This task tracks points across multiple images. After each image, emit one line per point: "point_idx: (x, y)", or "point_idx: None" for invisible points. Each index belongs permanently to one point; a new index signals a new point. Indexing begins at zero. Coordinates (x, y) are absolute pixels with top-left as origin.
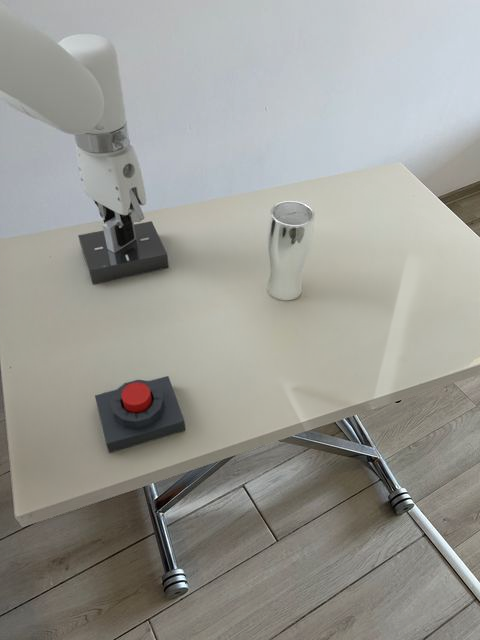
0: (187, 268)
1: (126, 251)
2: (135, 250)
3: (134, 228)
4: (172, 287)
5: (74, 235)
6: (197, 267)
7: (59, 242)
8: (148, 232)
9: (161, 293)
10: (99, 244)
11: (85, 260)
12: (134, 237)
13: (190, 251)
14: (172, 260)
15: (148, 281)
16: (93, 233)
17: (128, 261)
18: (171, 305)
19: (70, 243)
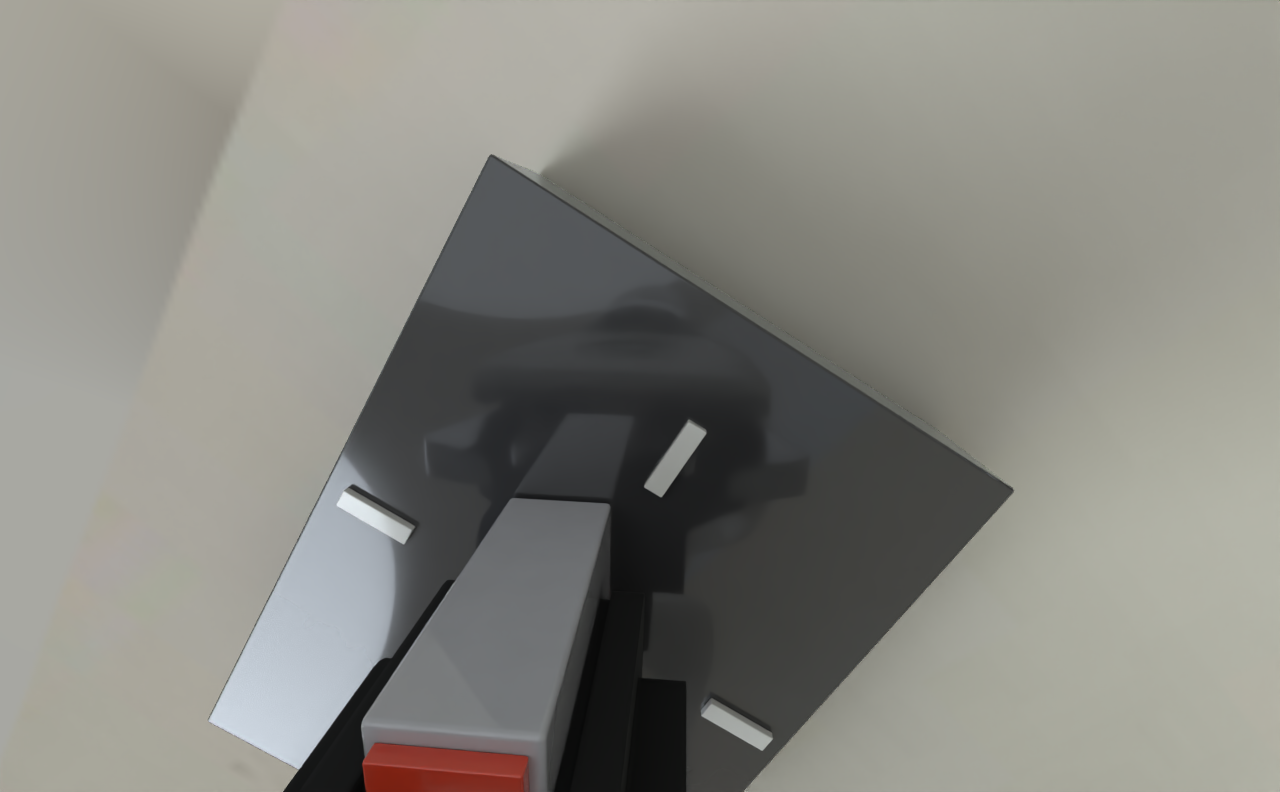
0: (1086, 344)
1: (667, 668)
2: (721, 618)
3: (590, 578)
4: (1099, 577)
5: (135, 555)
6: (1163, 280)
7: (145, 656)
8: (618, 342)
9: (1061, 660)
10: None
11: None
12: (606, 537)
13: (978, 137)
14: (910, 342)
15: (902, 621)
16: (264, 644)
17: (777, 747)
18: (1194, 707)
19: (197, 626)
